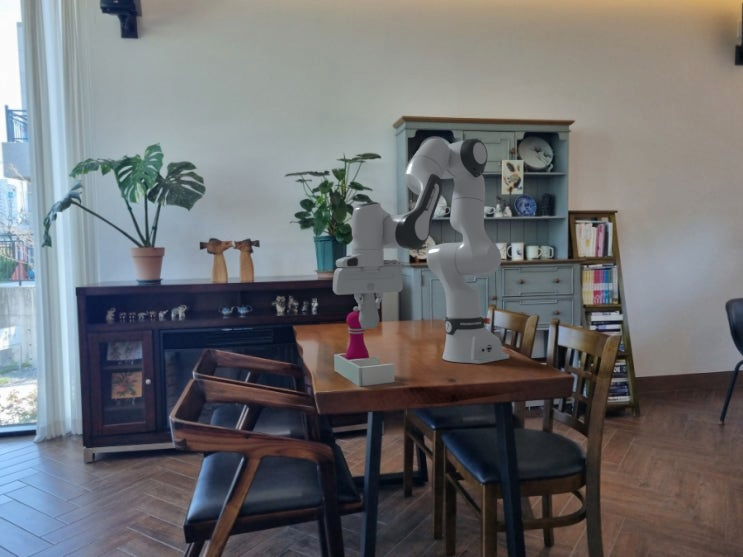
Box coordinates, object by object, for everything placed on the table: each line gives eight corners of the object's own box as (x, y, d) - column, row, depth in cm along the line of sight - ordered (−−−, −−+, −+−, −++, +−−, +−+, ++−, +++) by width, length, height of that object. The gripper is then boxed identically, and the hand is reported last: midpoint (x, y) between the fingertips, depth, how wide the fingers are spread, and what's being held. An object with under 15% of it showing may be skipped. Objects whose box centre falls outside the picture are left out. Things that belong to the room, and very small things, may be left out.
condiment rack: (366, 367, 157) (365, 351, 157) (394, 382, 138) (394, 364, 138) (334, 370, 153) (334, 354, 153) (359, 386, 134) (358, 368, 134)
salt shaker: (380, 326, 143) (379, 281, 143) (378, 329, 137) (378, 281, 137) (360, 326, 144) (359, 281, 143) (357, 329, 138) (356, 282, 137)
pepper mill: (341, 373, 149) (339, 307, 148) (353, 368, 155) (351, 304, 154) (362, 376, 146) (360, 307, 145) (373, 371, 152) (372, 305, 151)
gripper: (396, 259, 147) (397, 306, 147) (330, 260, 139) (331, 310, 139) (406, 259, 141) (407, 308, 141) (337, 260, 133) (338, 312, 134)
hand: (368, 309), depth 140 cm, fingers closed on salt shaker, 3 cm apart
